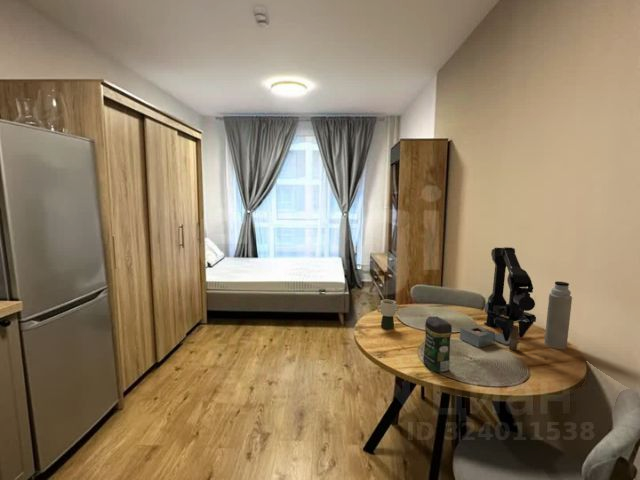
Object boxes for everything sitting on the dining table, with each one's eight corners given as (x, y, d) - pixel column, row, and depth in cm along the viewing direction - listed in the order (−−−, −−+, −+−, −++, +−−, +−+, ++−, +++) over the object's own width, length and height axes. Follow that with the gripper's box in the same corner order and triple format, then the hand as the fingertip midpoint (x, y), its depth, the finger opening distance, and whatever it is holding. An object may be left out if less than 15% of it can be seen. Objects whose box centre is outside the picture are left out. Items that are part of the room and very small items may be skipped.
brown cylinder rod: (511, 347, 144) (513, 324, 142) (518, 350, 141) (520, 327, 140) (507, 348, 142) (509, 325, 141) (513, 351, 140) (515, 328, 139)
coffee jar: (419, 361, 130) (422, 315, 128) (438, 359, 131) (441, 314, 129) (433, 374, 120) (436, 324, 118) (452, 372, 122) (456, 323, 120)
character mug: (394, 324, 168) (395, 298, 167) (401, 329, 162) (402, 303, 160) (374, 325, 166) (375, 300, 164) (379, 331, 159) (380, 304, 158)
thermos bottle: (542, 340, 151) (548, 279, 148) (562, 343, 149) (569, 281, 145) (547, 347, 144) (553, 283, 140) (569, 350, 141) (576, 285, 138)
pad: (500, 334, 157) (500, 333, 157) (519, 342, 149) (519, 340, 149) (487, 337, 153) (487, 336, 153) (505, 345, 145) (505, 344, 145)
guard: (475, 335, 156) (476, 324, 156) (494, 343, 147) (495, 332, 147) (459, 338, 152) (460, 328, 151) (478, 347, 143) (479, 336, 142)
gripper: (513, 295, 151) (510, 328, 153) (484, 300, 143) (481, 335, 144) (538, 302, 141) (534, 338, 143) (508, 308, 133) (505, 346, 135)
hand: (513, 339), depth 141 cm, fingers open, 9 cm apart
